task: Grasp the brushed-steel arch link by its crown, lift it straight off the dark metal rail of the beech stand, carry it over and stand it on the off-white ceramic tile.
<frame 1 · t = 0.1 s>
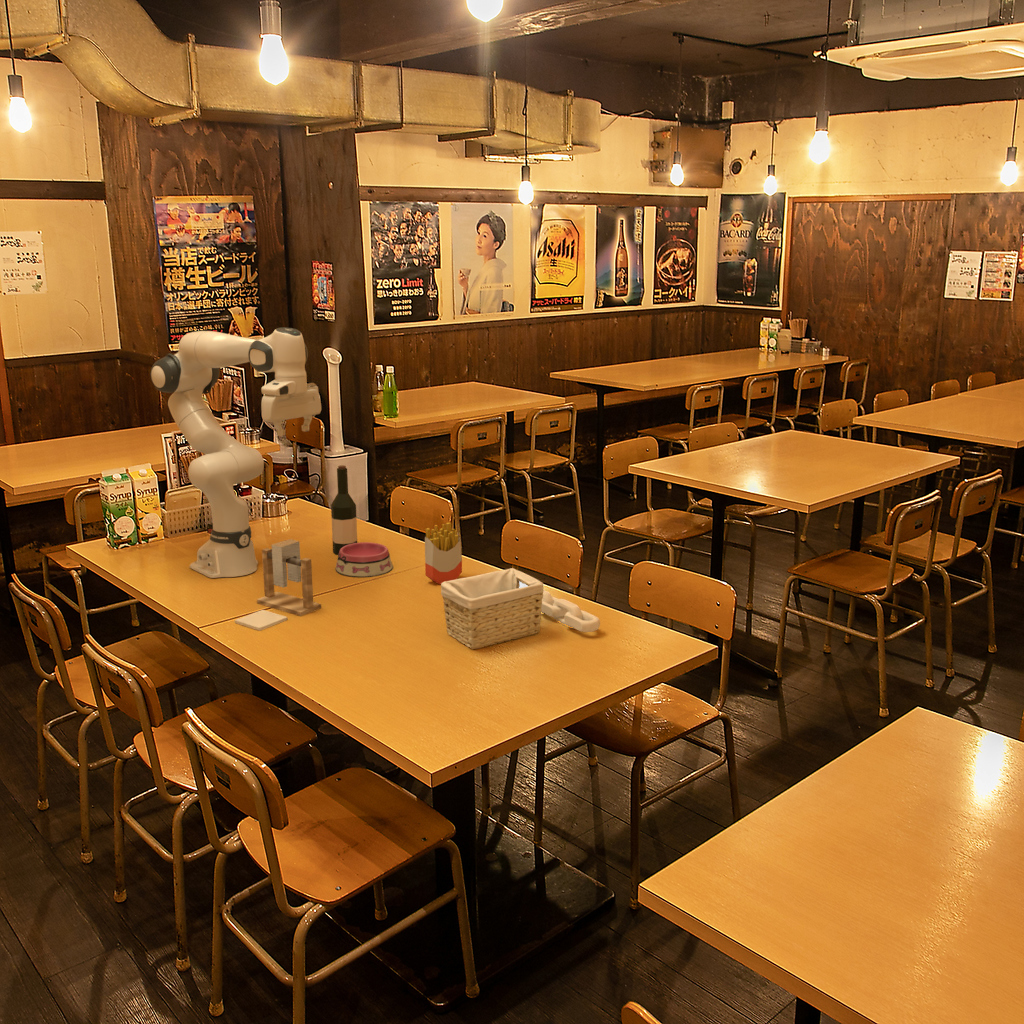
hand: (293, 433, 280), 48 cm above the table, fingers open, 8 cm apart
storage basket: (492, 634, 260), on the table
ceramic tile: (261, 621, 267), on the table
french fries container: (444, 581, 301), on the table
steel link: (287, 583, 277), point 7 cm above the table, touching rail stand
chain: (559, 621, 270), on the table
dog bowl: (364, 569, 312), on the table
rail stand: (289, 605, 279), on the table
wine bottle: (345, 552, 329), on the table
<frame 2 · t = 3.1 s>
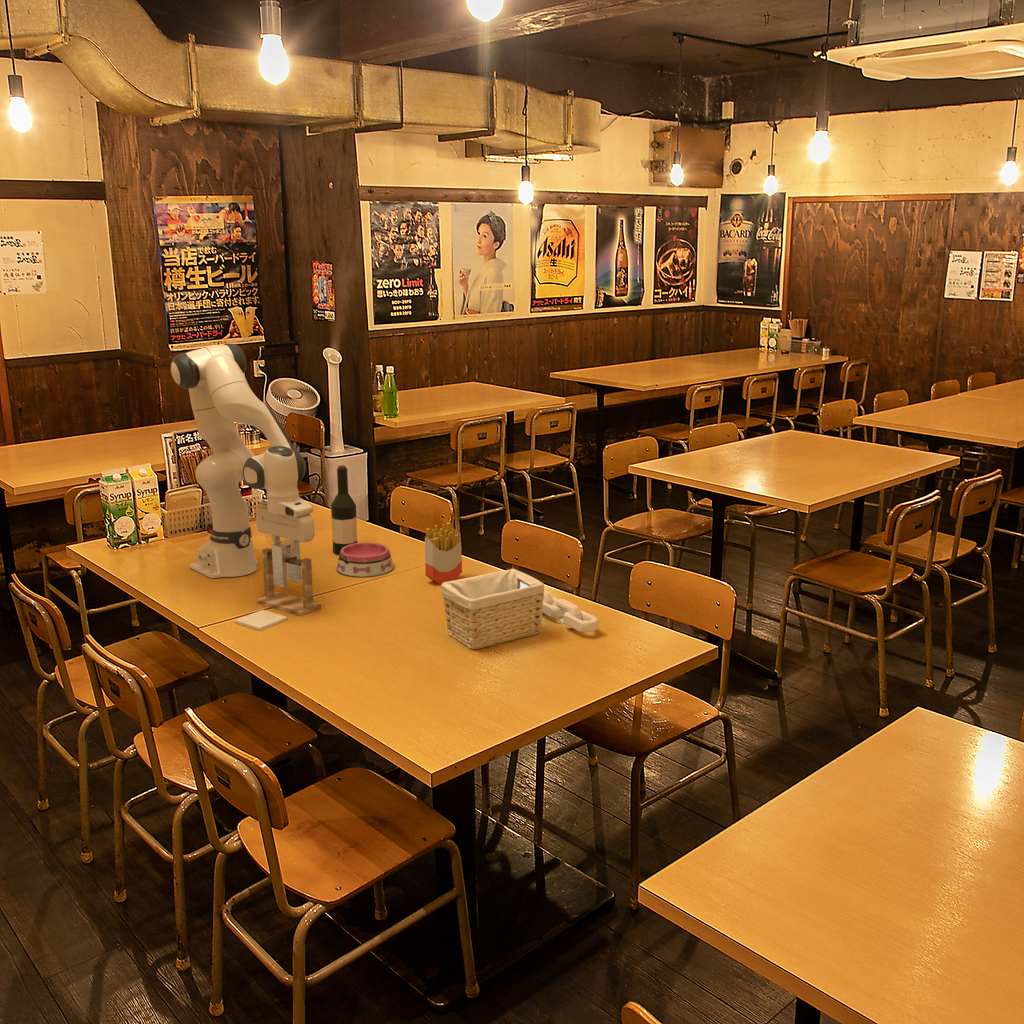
hand: (286, 551, 275), 16 cm above the table, fingers closed on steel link, 4 cm apart
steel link: (287, 583, 277), point 7 cm above the table, touching gripper, rail stand
everything else where it was.
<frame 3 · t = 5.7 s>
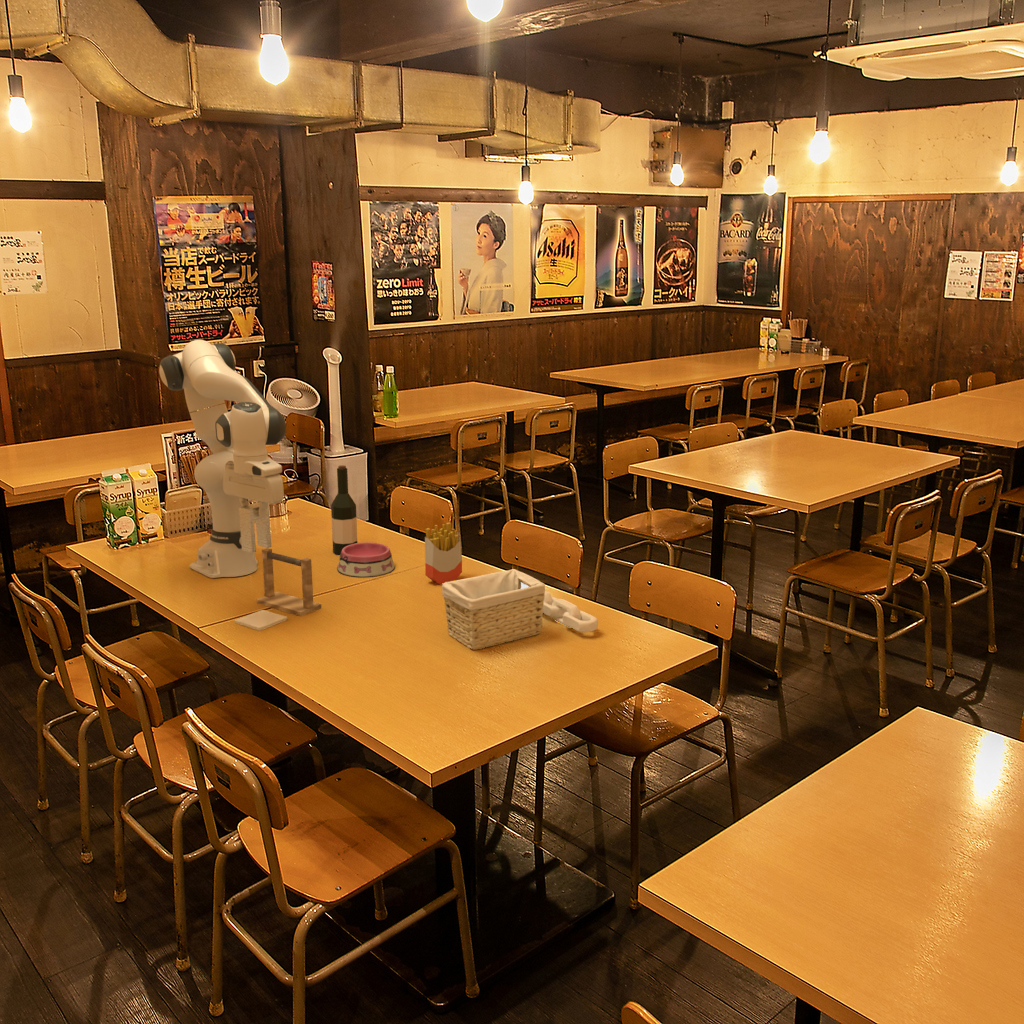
hand: (254, 515, 259), 30 cm above the table, fingers closed on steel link, 4 cm apart
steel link: (256, 548, 261), point 21 cm above the table, touching gripper
everything else where it was.
when the fingers open (11 cm above the table, at t = 8.2 s): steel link stays where it is, resting on ceramic tile.
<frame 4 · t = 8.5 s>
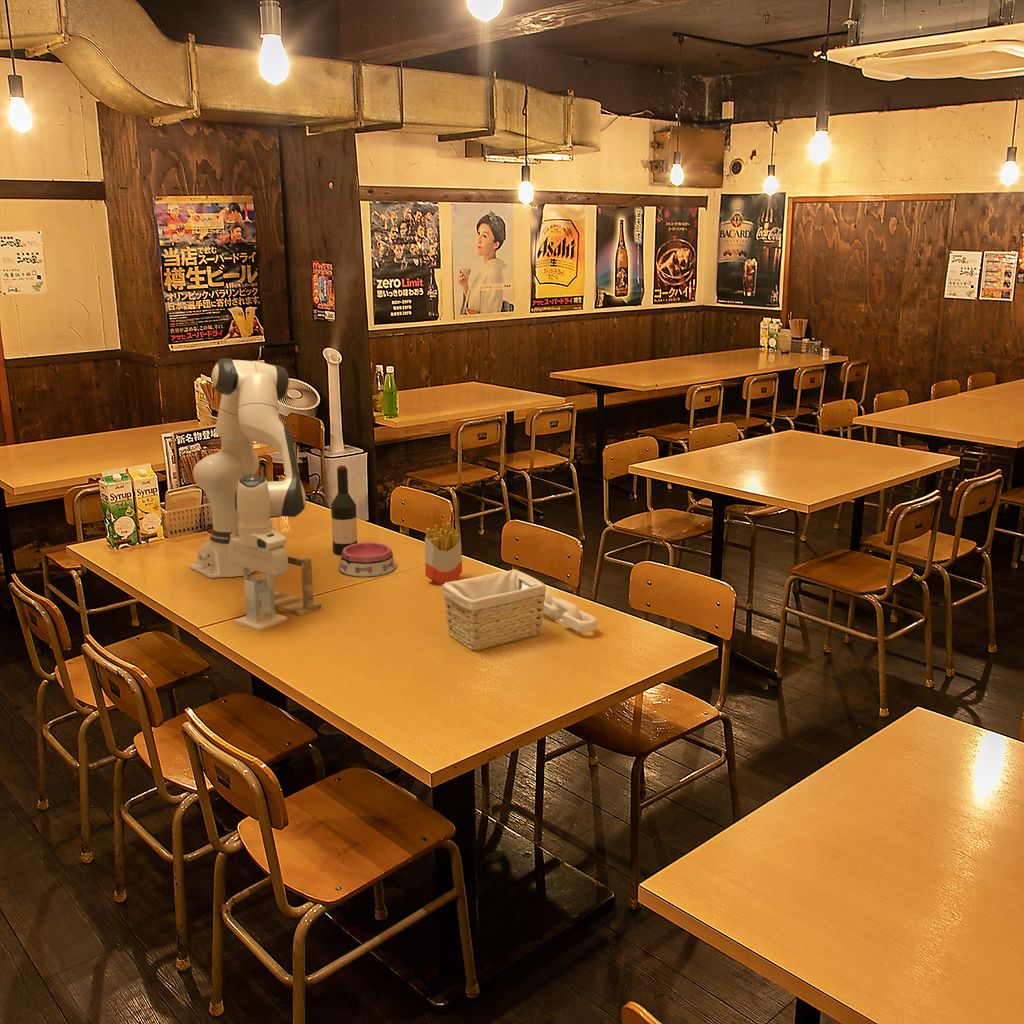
hand: (259, 584, 264), 11 cm above the table, fingers open, 7 cm apart
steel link: (261, 618, 267), point 1 cm above the table, touching ceramic tile
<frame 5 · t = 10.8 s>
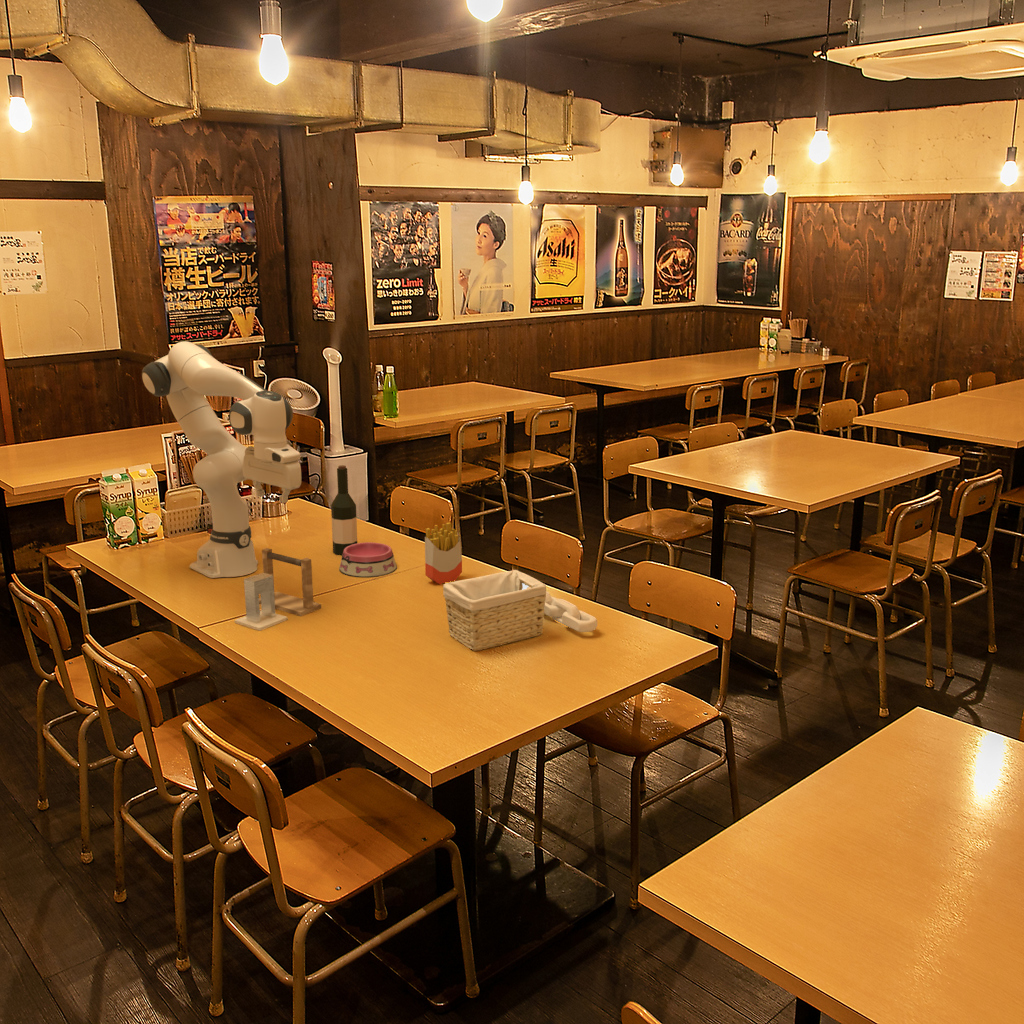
hand: (271, 499, 270), 32 cm above the table, fingers open, 8 cm apart
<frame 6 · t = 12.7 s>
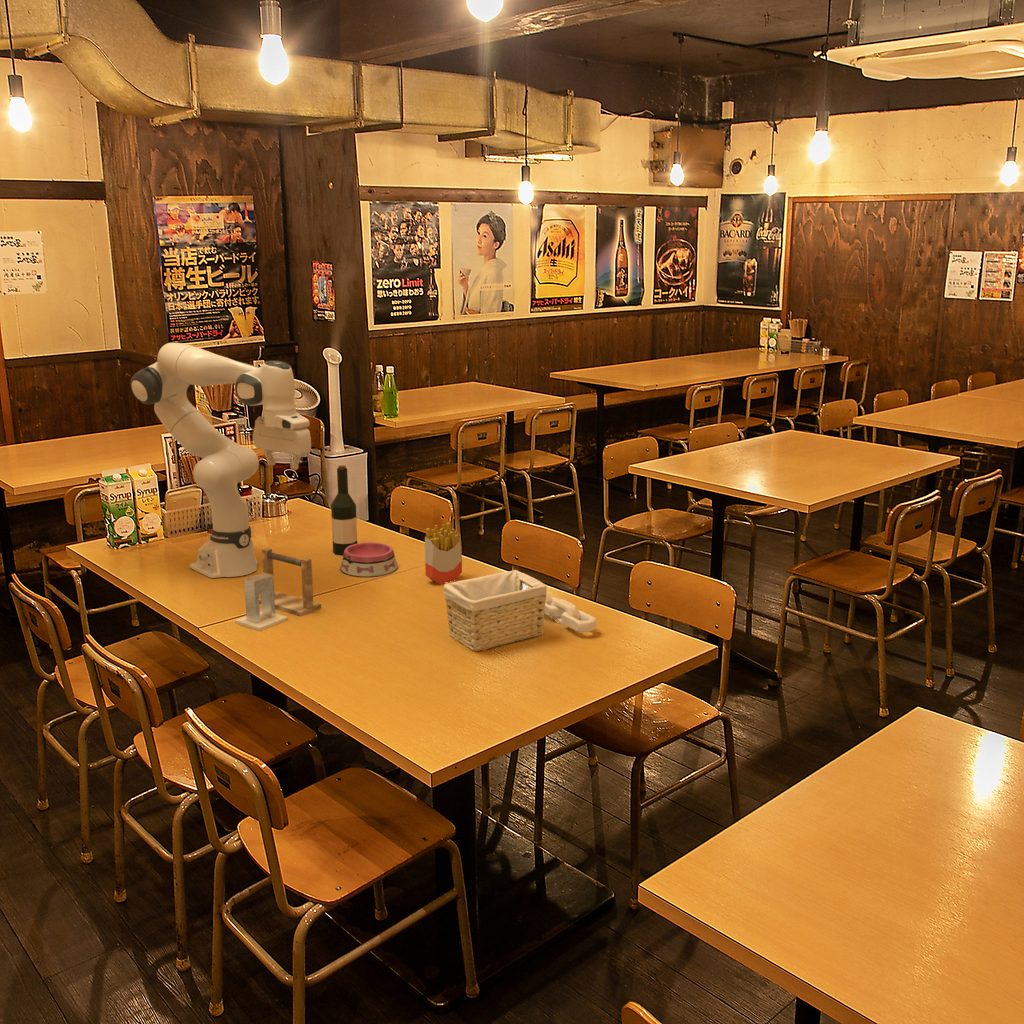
hand: (282, 467, 277), 39 cm above the table, fingers open, 8 cm apart
at the end: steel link inside the target area on the ceramic tile (0.1 cm from its centre), point 0.8 cm above the ceramic tile's base; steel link tilted 0°; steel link touching ceramic tile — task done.
